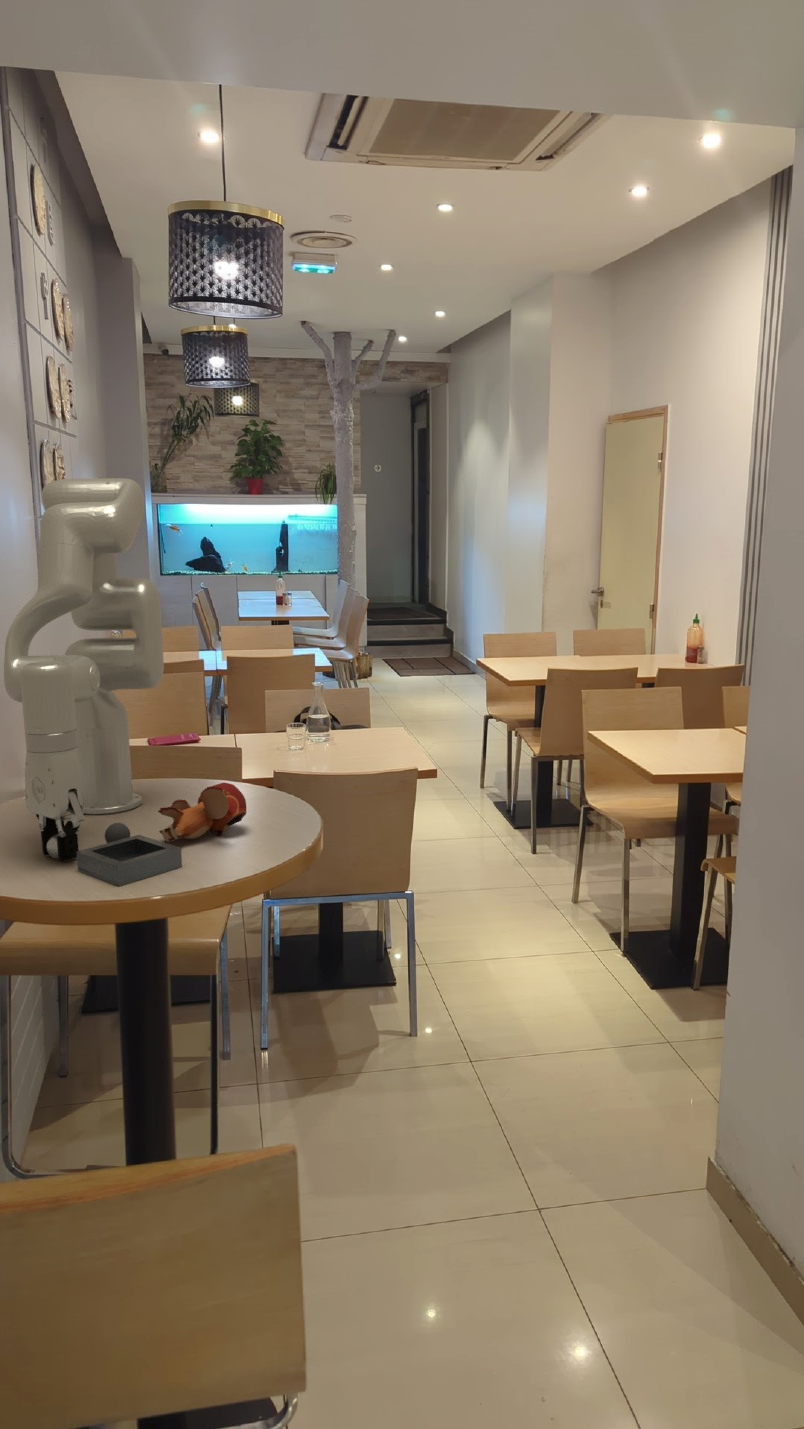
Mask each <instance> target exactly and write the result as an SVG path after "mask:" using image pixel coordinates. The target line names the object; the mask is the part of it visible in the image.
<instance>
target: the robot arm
mask: <svg viewBox="0 0 804 1429" xmlns="http://www.w3.org/2000/svg"><path fill="white" fill-rule="evenodd" d="M41 500H42V501H41V502H42V507H43V510H44V512H43V513H42V516H41V521H40V533H39V534H40V536H39V554H38V555H39V556H38V575H37V577H38V578H37V590H36V593H35V594H34V595H33V597H32V598H31V599H30V600H29V601H27V603H26V604H25V605H24V606H23V607H22V608H21V610H20V611H19V612H18V613H17V615H16V617H15V618H14V620H13V621H12V623H11V625H10V627H9V629H8V632H7V635H6V638H5V645H4V646H5V647H4V660H3V663H4V664H3V683H4V688H5V691H6V693H7V695H8V696H9V697H10V698H11V700H13V701H15V702H17V703H21V704H22V715H23V716H22V717H23V728H24V736H25V737H24V738H25V740H24V741H25V751H26V753H25V759H24V760H25V761H24V762H25V763H24V787H25V788H24V792H25V806H26V808H27V810H28V811H30V812H31V813H33V814H36V817H37V820H38V828H39V830H40V837H41V847H42V848H41V849H42V854H43V855H44V856H46V857H47V856H50V855H49V853H48V851H47V842H48V840H49V839H50V838H51V837H52V836H53V835H55V834H58V833H59V835H60V836H58V837H57V847H58V859H57V860H58V861H59V862H61V863H62V862H67V861H71V860H74V859H77V851H80V850H79V849H80V848H79V838H78V834H79V833H80V826H81V825H82V824H83V823H84V822H85V820H86V818H85V816H84V815H85V814H88V815H104V814H113V813H114V814H116V813H119V812H121V813H122V812H125V811H129V810H133V809H134V808H137V807H139V806H140V805H141V804H142V796H141V795H140V794H138V793H135V792H133V780H132V779H133V778H132V766H131V765H132V763H131V762H132V760H131V748H130V746H131V745H130V732H129V731H130V730H129V717H128V713H127V712H128V711H127V709H126V708H125V706H124V704H123V702H122V701H121V700H120V699H119V698H118V696H116V694H115V693H114V692H113V691H119V690H123V691H124V690H148V689H153V688H156V687H158V686H159V685H160V684H161V683H162V680H163V678H164V671H165V670H164V669H165V668H164V667H165V665H164V664H165V662H164V644H163V643H164V642H163V624H162V623H163V622H162V607H161V604H162V603H161V598H160V594H159V590H158V588H157V586H156V585H155V583H153V582H152V581H151V580H149V579H147V578H142V577H119V576H118V566H117V554H123V553H125V552H127V551H128V550H129V549H131V547H132V545H133V543H134V541H135V540H136V536H137V533H138V531H139V528H140V527H141V524H142V521H143V518H144V514H145V506H146V505H145V504H146V503H145V495H144V492H143V490H142V487H141V486H140V485H139V483H138V482H136V481H135V480H134V479H130V478H125V477H124V478H120V477H119V478H116V477H115V478H112V477H111V478H91V477H90V478H86V477H85V478H63V479H57V480H52V481H50V482H48V483H46V484H45V485H44V486H43V488H42V491H41ZM69 613H70V615H71V619H72V622H73V623H74V625H75V626H76V627H77V628H79V629H81V630H85V631H107V632H108V631H132V632H133V633H134V634H135V637H98V638H97V637H93V638H83V639H80V640H76V641H75V642H73V643H71V644H70V645H68V647H67V648H66V650H65V652H64V654H63V655H58V654H56V655H54V654H52V655H51V654H50V655H48V654H47V655H46V654H45V655H29V651H30V650H29V649H30V646H31V643H32V642H33V641H32V640H33V638H34V637H35V636H36V635H37V633H38V632H39V631H40V630H41V629H42V628H44V627H45V626H46V625H48V624H49V623H51V622H52V621H54V620H56V619H58V618H60V617H63V616H64V615H67V614H69ZM67 812H69V813H68V814H66V813H67ZM66 820H69V821H66ZM65 821H66V823H65Z"/></svg>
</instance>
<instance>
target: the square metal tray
mask: <svg viewBox="0 0 804 1429" xmlns="http://www.w3.org/2000/svg"><path fill="white" fill-rule="evenodd" d="M76 862H77V863H76V864H77V871H78V872H81V873H83V874H85V875H88V876H91V877H93V878H96V879H98V880H101V881H104V882H105V883H106V882H107V883H108V884H112V885H114V886H116V887H121V886H124V885H127V884H132V883H134V882H138V881H141V880H144V879H147V878H151V877H153V876H157V875H161V874H163V873H167V872H169V871H173V870H176V869H180V868H182V867H183V863H182V862H183V860H182V848H181V847H179V846H176V845H173V844H170V843H168V842H167V843H165V841H164V842H163V841H161V840H157V839H155V838H151V837H149V836H144V835H141V834H136V835H132V836H130V837H129V838H125V839H121V840H117V841H114V842H110V843H107V842H106V843H102V844H99V845H96V846H92V847H91V846H90V847H87V848H84V849H81V850H79V851H77V858H76Z"/></svg>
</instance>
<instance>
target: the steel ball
mask: <svg viewBox="0 0 804 1429" xmlns="http://www.w3.org/2000/svg"><path fill="white" fill-rule="evenodd" d="M58 836H60V835H59V833H58V834H55V835H53V836H52V837H51V838H50V839H49V840H48V842H47V851H48V853H49V855H48V856H51V857H52V858H53V859H56V860H59V859H58V847H57V837H58Z"/></svg>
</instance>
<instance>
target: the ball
mask: <svg viewBox="0 0 804 1429" xmlns="http://www.w3.org/2000/svg"><path fill="white" fill-rule="evenodd" d="M129 837H131V830H130V828H129V827H128V826H127V825H126V824H124V823H122V822H114V823H111V824H110V825H108V827H107V828H106V829H105V832H104V840H105V842H106V843H110V842H114V841H117V840H121V839H125V838H129Z"/></svg>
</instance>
